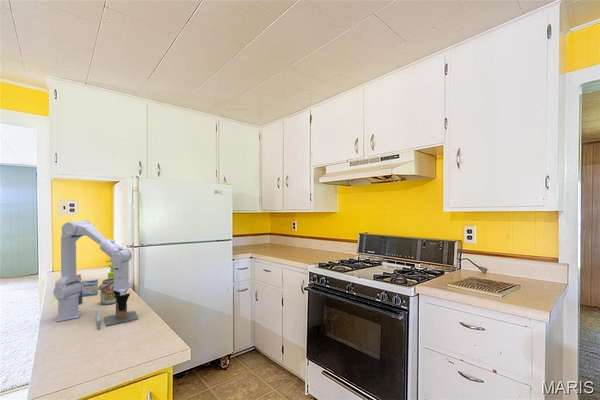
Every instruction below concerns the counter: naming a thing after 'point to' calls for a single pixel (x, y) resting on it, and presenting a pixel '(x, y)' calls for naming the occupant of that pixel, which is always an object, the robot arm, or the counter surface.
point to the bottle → (80, 294)
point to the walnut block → (121, 313)
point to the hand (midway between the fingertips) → (121, 308)
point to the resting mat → (112, 319)
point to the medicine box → (90, 287)
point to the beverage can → (107, 292)
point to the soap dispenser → (111, 274)
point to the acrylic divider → (98, 320)
